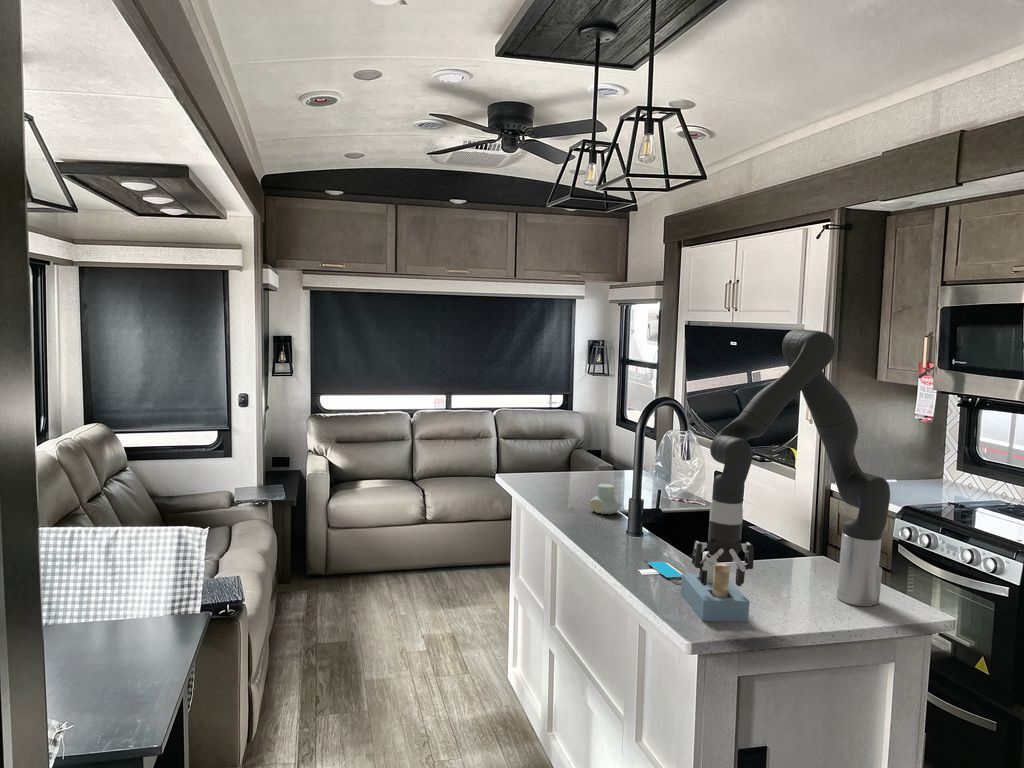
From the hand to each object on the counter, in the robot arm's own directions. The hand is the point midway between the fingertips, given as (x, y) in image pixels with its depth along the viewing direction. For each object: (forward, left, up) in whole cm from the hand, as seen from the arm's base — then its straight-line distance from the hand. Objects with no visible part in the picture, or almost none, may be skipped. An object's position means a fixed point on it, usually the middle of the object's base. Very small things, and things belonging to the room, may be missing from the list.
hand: (720, 584), depth 182 cm
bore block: (0, -4, -7) cm, 8 cm away
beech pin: (0, 0, -6) cm, 6 cm away
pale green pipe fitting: (+11, -91, -8) cm, 92 cm away
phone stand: (+7, -29, -8) cm, 31 cm away
